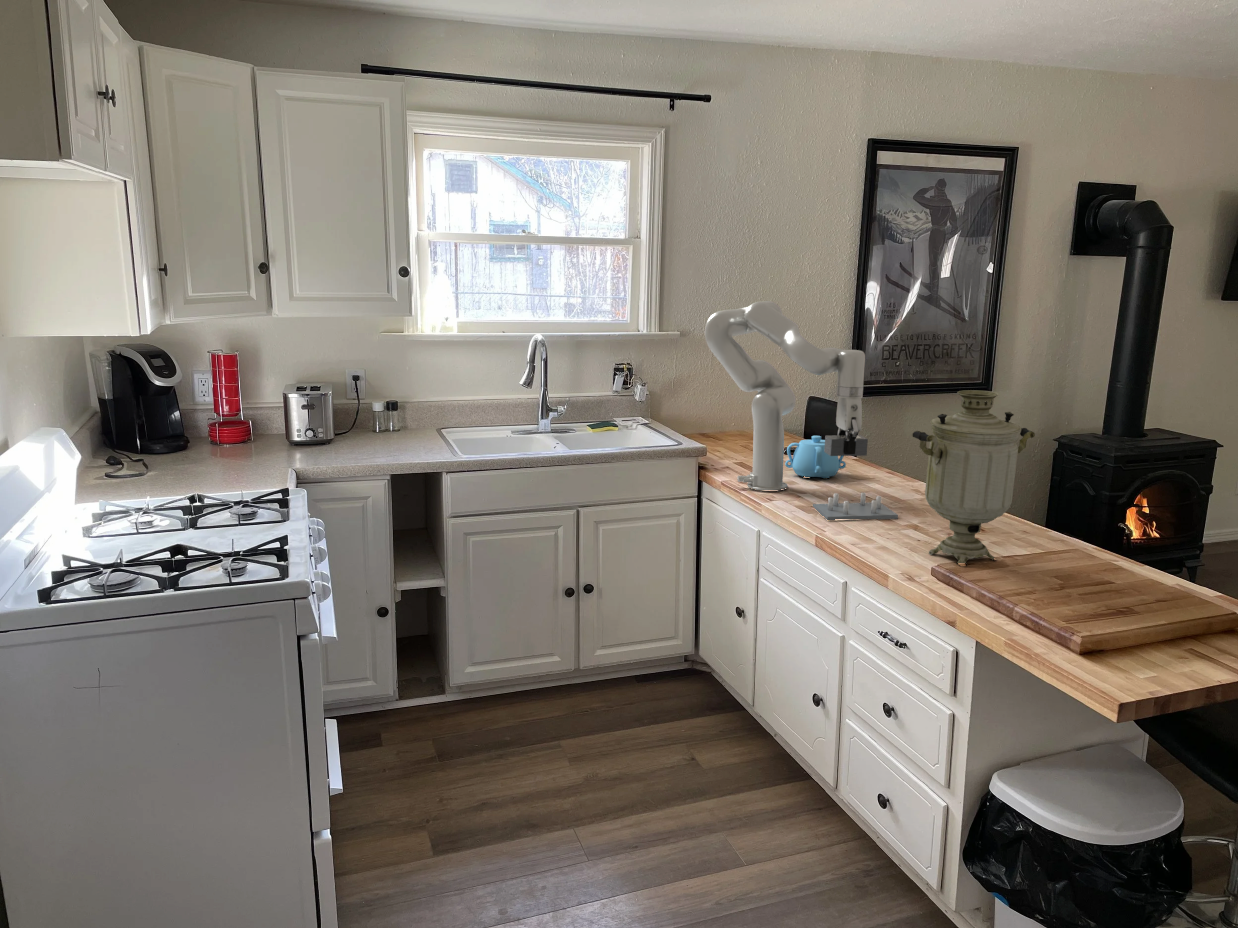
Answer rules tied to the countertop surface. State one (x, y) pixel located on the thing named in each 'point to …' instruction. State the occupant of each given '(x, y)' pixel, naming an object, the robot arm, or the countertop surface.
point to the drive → (837, 444)
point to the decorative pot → (813, 459)
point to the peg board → (855, 509)
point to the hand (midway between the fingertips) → (845, 451)
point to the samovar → (971, 470)
